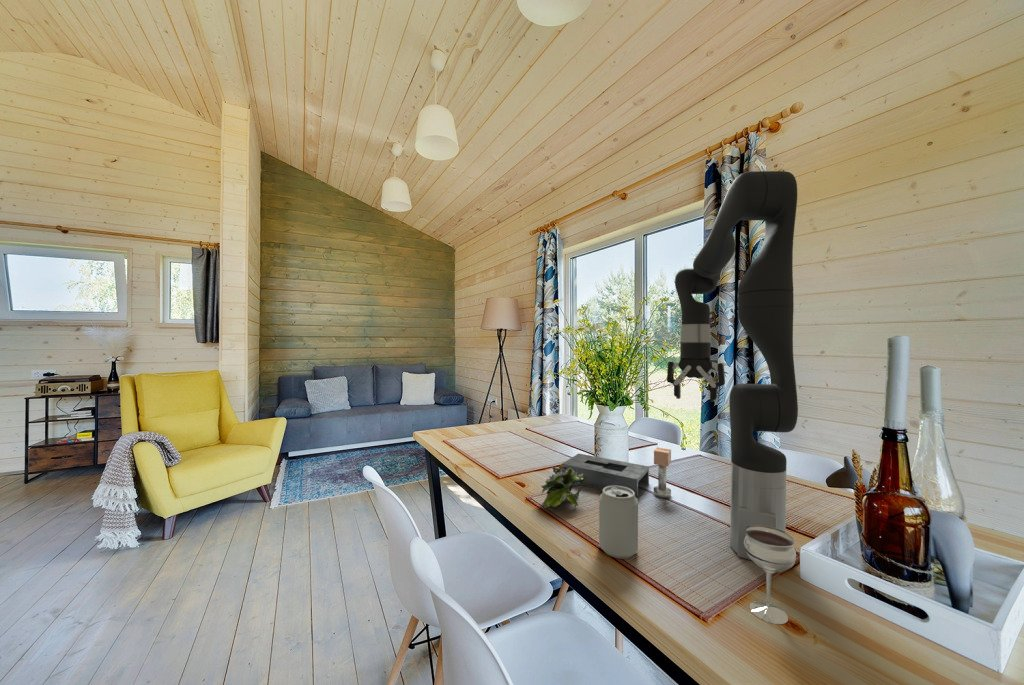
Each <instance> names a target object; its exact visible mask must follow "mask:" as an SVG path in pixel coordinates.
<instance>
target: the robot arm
mask: <svg viewBox="0 0 1024 685" xmlns="http://www.w3.org/2000/svg"><path fill="white" fill-rule="evenodd" d="M797 205H798V182H797V180H796V177H795V176H794V174H793V173H792V172H789V171H783V170H769V171H768V170H766V171H761V170H759V171H758V170H757V171H746V172H743V173H740V174H738V176H737V177H735V179H734V180H733V181H732V182H731V184H730V186H729V188H728V190H727V192H726V194H725V196H724V199H723V202H722V204H721V206H720V208H719V211H718V212H717V213H718V214H717V216H715V217H716V218H715V221H714V223H713V225H712V228H711V231H710V233H709V235H708V237H707V240H706V241H705V242H704V244H703V246H702V248H700V249H699V250H700V251H699V252H698V253H697V255H696V256H695V258H694V260H693V262H692V266H693V268H691V267H690V268H682V269H680V270H679V271H678V272H676V275H675V278H674V286H675V290H676V293H677V296H678V300H679V304H680V310H681V327H680V342H679V343H680V347H679V348H680V349H679V350H680V351H679V352H680V353H679V354H680V356H679V358H680V360H679V361H672V360H670V361H669V362H668V363H667V375H666V382H667V383H669V384H672V385H673V396H674V397H676V399H681V396H682V395H681V394H682V393H681V392H682V391H681V390H682V389H681V388H682V387H681V383H682V382H683V380H685V379H686V378H688V379H694V378H695V379H703V378H704V380H705V381H706V382H707V383H708V384H709V385H710V388H709V403H710V402H712V403H714V402H715V401H716V400H717V398H718V388H719V387H723V386H725V385H726V380H725V379H726V378H725V376H726V375H725V364H724V363H722V362H720V363H713V362H712V360H711V359H712V358H711V356H712V355H711V350H712V349H711V345H712V337H711V335H712V333H711V326H710V324H711V316H710V315H711V309H710V307H711V306H710V305H709V304H708V303H706V302H703V301H702V302H701V301H698V300H696V299H695V298H694V296H693V295H709V294H710V293H712V292H714V291H715V290H716V289H717V286H718V283H719V282H718V281H719V279H720V277H721V276H720V275H721V273H722V271H723V269H725V267H726V266H727V265H728V263H729V262H730V261H731V259H732V258H733V256H734V254H735V252H736V251H735V250H736V240H735V236H734V231H733V229H734V227H735V226H736V225H737V224H738V223H739V222H740V221H764V225H765V226H764V227H765V228H764V237H763V242H762V245H761V248H760V249H759V252H758V254H756V256H755V258H754V260H753V261H752V262H751V264H750V265H749V267H748V268H747V269H746V271H745V272H744V274H743V275H742V278H741V280H740V282H739V283H738V288H737V316H738V320H739V323H740V325H741V327H742V328H743V330H744V332H745V333H746V334H747V335H748V337H749V338H750V339H751V341H752V342H753V343H754V345H755V346H756V348H757V349H758V350H759V352H760V353H761V355H762V357H763V358H764V360H765V362H766V365H767V367H768V368H767V369H768V372H769V377H770V378H769V379H770V384H767V383H766V384H765V383H764V384H763V383H737V384H735V385H734V386H732V388H731V390H730V393H729V423H730V453H731V454H730V457H731V458H730V465H731V466H730V468H731V469H730V471H731V472H730V521H729V522H730V525H729V526H730V528H729V529H730V536H729V537H730V540H729V542H730V548H732V551H734V552H735V553H736V556H737V557H738V558H743V559H745V560H749V561H752V560H751V559H750V557H749V556H748V555H747V553H746V551H745V548H744V539H745V537H746V533H745V531H744V529H745V527H747V526H750V525H763V526H769V527H773V528H776V529H779V530H781V531H784V532H786V524H787V523H786V522H787V521H786V520H787V518H786V517H787V516H786V514H787V511H786V510H787V457H786V455H785V454H784V452H782V451H780V450H779V449H776V448H773V447H771V446H768V445H766V444H763V443H761V442H759V441H757V440H755V438H754V435H753V432H764V433H765V432H767V433H768V432H769V433H790V432H792V431H793V430H794V429H795V428H796V425H797V422H798V416H799V403H798V401H799V400H798V391H797V390H798V389H797V380H796V371H795V364H794V363H795V362H794V310H795V307H794V305H795V304H794V278H793V277H794V276H793V271H794V270H793V269H794V268H793V258H794V257H793V256H794V255H793V252H794V251H793V250H794V237H795V236H794V235H795V226H796V225H795V224H796V217H797V216H796V215H797V208H798V206H797ZM677 367H678V368H679V370H681V372H680V374H679V375H678V376H677V378H676V379H675V375H674V374H675V370H676V369H677ZM712 368H714V370H715V372H717V377H718V378H717V379H718V381H715V379H714V378H713V376H712V375H711V373H710V371H711V370H712Z"/></svg>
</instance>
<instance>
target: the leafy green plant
mask: <svg viewBox="0 0 1024 685" xmlns="http://www.w3.org/2000/svg"><path fill="white" fill-rule="evenodd" d="M566 468H567V466H562V465H558V467H556V466H553V467H552V470H553V471H552V475H551V476H550V475H549V476H548V478H546V481H545V482H544V483H545V484H543V485H540V487H541V488H542V489H541V490H542V491H541V494H543V493H545V491H546V497H545V498H544V501H543V503H542V504H543V508H544V509H548V508H550V507H552V508H555V507H558V506H560V505H561V504H562V503H563V502H565V500H566V499H568V501H569V502H570V503H571V504H572V505H574V509H573V510H574V511H576V509H577V507H578V506H579V504H578V499H579V496H580V492H581V490H582V488H583V487H584V486H583V484H584V483H585V481H586V479H587V477H586V474H585V476H584V474H581V475H578V473H577V471H576V470H574V469H573V470H572V468H569V469H568V470H567V469H566ZM565 469H566V471H565ZM562 471H563V472H562ZM553 473H554V474H553ZM577 475H578V476H579V477H577ZM583 481H584V482H583ZM579 482H583V483H582V485H579V484H580V483H579ZM573 486H580V487H579V489H578V491H577V492H576V493H573V492H571V491H572V489H573Z"/></svg>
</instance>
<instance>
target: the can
mask: <svg viewBox="0 0 1024 685" xmlns="http://www.w3.org/2000/svg"><path fill="white" fill-rule="evenodd" d="M598 499H599V500H598V501H599V502H598V504H599V505H598V509H599V510H598V513H599V514H598V545H599V547H600V549H601V550H602V551H603V552H604V553H605V554H606V555H607V556H610V557H611V558H615V559H621V560H622V559H624V560H625V559H629V558H631V557H633V555H635V554H637V552H638V551H639V500H638V498H636V497H635V493H634V491H633V490H631V489H629V488H627V487H623V486H607V487H605V488H604V489H603V490H602V493H600V495H599V497H598Z"/></svg>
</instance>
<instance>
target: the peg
mask: <svg viewBox="0 0 1024 685" xmlns="http://www.w3.org/2000/svg"><path fill="white" fill-rule="evenodd" d="M671 463H672V449H670V448H669V449H668V448H663V447H656V448H655V449H654V450H653V465H657V466H658V470H657V471H658V472H657V474H658V476H657V477H658V483H657V485H656V486H653V495H654V496H655V497H657V498H661V499H670V498H671V497H672V490H671V488H670V487H667V467H669V466H670V465H671Z"/></svg>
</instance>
